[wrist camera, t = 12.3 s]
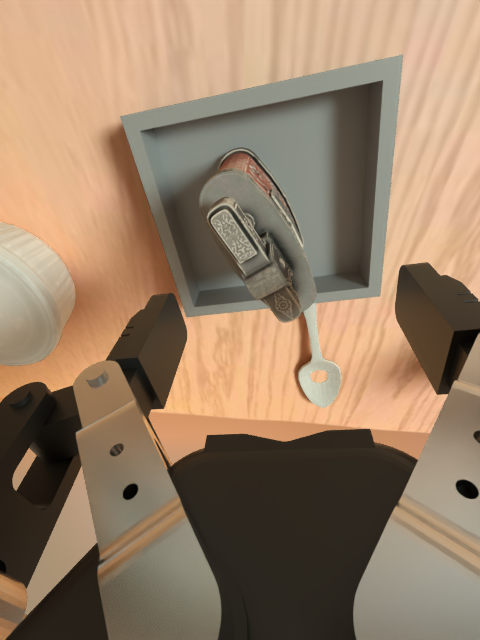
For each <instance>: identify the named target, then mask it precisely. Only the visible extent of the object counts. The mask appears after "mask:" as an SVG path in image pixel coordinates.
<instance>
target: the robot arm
mask: <svg viewBox="0 0 480 640" xmlns="http://www.w3.org/2000/svg"><path fill="white" fill-rule="evenodd" d="M395 313H396V318H397V321H398V323H399V325H400V327H401V329H402V331H403V333H404V334H405V336H406V338H407V340H408V342H409V344H410V346H411V347H412V349H413V351H414V353H415V355H416V357H417V358H418V360H419V362H420V364H421V366H422V368H423V370H424V371H425V373H426V375H427V377H428V379H429V381H430V383H431V384H432V386H433V388H434V390H435V392H436V394H437V395H439V394H448V396H447V398H446V400H445V403H444V405H443V407H442V409H441V411H440V414H439V416H438V418H437V420H436V422H435V424H434V427H433V429H432V431H431V433H430V435H429V438H428V440H427V442H426V444H425V447H424V449H423V451H422V453H421V455H420V457H419V460H417V459H415V458H414V457H412V456H410V455H408V454H407V453H404V452H403V451H400V450H398V449H395V448H393V447H390V446H387V445H384V444H380V443H375V442H374V441H373V437H372V435H371V431H370V429H356V430H329V431H324V432H320V433H317V434H313V435H310V436H306V437H302V438H299V439H295V440H292V441H287V442H282V441H276V440H272V439H267V438H262V437H257V436H252V435H248V434H227V435H207V438H206V443H205V448H203V449H200V450H198V451H195V452H193V453H191V454H189V455H187V456H185V457H183V458H182V459H180V460H179V461H177V462H176V463H174V464H173V465H172V463H171V461H170V459H169V457H168V456H167V453H166V451H165V449H164V447H163V445H162V443H161V441H160V439H159V437H158V435H157V433H156V431H155V429H154V427H153V425H152V422H151V421H150V419H149V417H148V416H149V413H150V411H151V409H164V407H165V404H166V401H167V398H168V395H169V392H170V389H171V386H172V383H173V380H174V377H175V374H176V371H177V368H178V365H179V362H180V359H181V356H182V353H183V350H184V347H185V344H186V341H187V329H186V325H185V322H184V319H183V317H182V314H181V311H180V308H179V306H178V303H177V300H176V297H175V296H174V294H172V293H169V294H161V295H153V296H152V297H151V298H150V300H149V302H148V303H147V305H146V307H145V309H143V310H140V311H139V312H138V313H137V314H136V315H134V316H133V317H132V318H131V319H130V321H129V323H128V324H127V326H126V329H124V331H123V333H122V334H121V337H119V339H118V341H117V342H116V344H115V346H114V347H113V349H112V351H111V352H110V354H109V356H108V357H107V359H106V360H105V361H102V362H98V363H96V364H93V365H92V366H90V367H88V368H87V369H85V370H84V371H83V372H82V373H80V374H79V376H78V377H77V378H76V380H75V382H74V385H73V386H70V387H67V388H63V389H60V390H57V391H54V392H51V391H50V390H49V389H48V387H47V386H46V385H45V384H44V383H42V382H33V383H29V384H26V385H24V386H21V387H19V388H18V389H16V390H14V391H13V392H11V393H10V394H9V395H7V396H6V397H5V398H4V399H3V400H2V401H1V403H0V640H480V302H478V299H477V298H476V297H475V296H474V295H473V294H471V293H470V291H469V290H468V289H467V288H466V287H465V286H464V285H463V283H462V282H460V281H458V280H455V279H453V278H451V277H449V276H447V275H443V276H440V275H439V274H438V273H437V272H436V271H435V270H434V268H433V267H432V266H431V265H430V264H429V263H427V262H426V263H418V264H409V265H402V266H401V268H400V271H399V277H398V285H397V294H396V302H395ZM28 448H30V449H31V450H32V451H33V452H34V453H35V454H36V455H37V457H36V458H35V460H34V462H33V463H32V465H31V467H30V469H29V470H28V472H27V474H26V475H25V477H24V479H23V481H22V482H21V484H20V486H19V487H18V489H17V491H15V490H14V488H13V485H12V478H13V474H14V472H15V470H16V468H17V466H18V465H19V463H20V461H21V460H22V458H23V457H24V455H25V453H26V452H27V450H28ZM81 466H82V469H83V474H84V479H85V484H86V489H87V494H88V499H89V503H90V508H91V513H92V518H93V523H94V528H95V533H96V538H97V543H96V544H95V545H94V546H93V547H92V549H91V550H90V551H89V552H88V553H87V554H86V555H85V556H84V557H83V558H82V559H81V560H80V561H79V562H78V563H77V564H76V565H75V566H74V567H73V568H72V569H71V570H70V572H69V573H68V574H67V575H66V576H65V577H64V578H63V579H62V580H61V581H60V582H59V583H58V584H57V585H56V586H55V587H54V588H53V589H52V590H51V591H50V592H49V594H47V596H46V597H45V598H44V599H43V600H42V601H41V602H40V603H39V604H38V605H37V606H36V607H35V608H34V609H33V610H32V611H31V612H30V613H29V614H28V615H27V614H25V611H26V606H27V598H28V597H27V591H26V588H27V586H28V584H29V582H30V580H31V578H32V575H33V573H34V571H35V569H36V566H37V564H38V562H39V560H40V557H41V555H42V553H43V551H44V549H45V546H46V544H47V542H48V540H49V537H50V535H51V533H52V531H53V528H54V526H55V524H56V522H57V519H58V517H59V515H60V513H61V510H62V508H63V506H64V504H65V502H66V499H67V497H68V495H69V492H70V490H71V488H72V486H73V483H74V481H75V479H76V477H77V475H78V472H79V470H80V468H81Z"/></svg>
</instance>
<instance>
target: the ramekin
mask: <svg viewBox="0 0 480 640" xmlns="http://www.w3.org/2000/svg"><path fill="white" fill-rule="evenodd" d="M75 295H76V291H75V285H74V283H73V279H72V277H71V275H70V272H69V270H68V268H67V267H66V265H65V263H64V262H63V260H62V259H61V258H60V257H59V255H58V254H57V253H56V252H55V251H54V250H53V249H52V248H51V247H50V246H49V245H48V244H46V243H45V242H44V241H43V240H41V239H40V238H38V237H37V236H35V235H33V234H32V233H30V232H28V231H26V230H24V229H22V228H19V227H17V226H14V225H11V224H7V223H4V222H0V365H7V366H21V365H28V364H33V363H36V362H39V361H41V360H43V359H44V358H45V357H47V356H48V355H49V354H50V353H51V352H52V351H53V350H54V349H55V347H56V346H57V344H58V343H59V341H60V338H61V335H62V330H63V328H64V326H65V325H66V323H67V321H68V319H69V317H70V315H71V313H72V311H73V308H74V306H75V300H76V296H75Z"/></svg>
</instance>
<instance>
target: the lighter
mask: <svg viewBox="0 0 480 640" xmlns="http://www.w3.org/2000/svg"><path fill="white" fill-rule="evenodd" d="M199 207H200V210H201V214H202V216H203V218H204V220H205V222H206V224H207V226H208V228H209V230H210V232H211V234H212V236H213V238H214V240H215V242H216V244H217V246H218V247H219V249H220V250H221V252H222V253H223V255H224V256H225V258H226V260H227V261H228V263H229V264H230V266H231V267H232V269H233V270H234V272H235V273H236V274H237V275H238V276H239V277H240V279H241V280H242V281H243V282H244V284H245V286H246V288H247V290H248V291H249V293H250V294H251V295H252V297H253V298H254V299H255V300H257V301H258V300H260V301H262V302H263V303H265V304H266V305H267V306H268V307H269V308H270V309H271V311H272V312H273V313H274V315H275V316H276V318H277V319H278V320H279V321H281V322H283V323H287V322H290V321H293V320H295V319H297V318H298V317H299V316H300V315H301V313H302V312H303V311H305V310H307V309H308V308H309V307H310V306H311V305H312V304H313V303H314V301H315V298H316V296H317V291H316V286H315V282H314V279H313V276H312V273H311V270H310V267H309V264H308V261H307V258H306V255H305V253H304V251H303V247H304V240H303V236H302V233H301V230H300V227H299V223H298V220H297V217H296V214H295V212H294V210H293V208H292V206H291V204H290V202H289V200H288V198H287V195H286V193H285V192H284V190H283V189H282V187H281V186H280V184H279V183H278V181H277V180H276V178H275V177H274V175H273V174H272V172H271V171H270V170H269V169H268V168H267V167H266V165H265V164H264V163H263V162H262V161H261V160H260V158H259V157H258V156H257V155H256V154H255V153H254V152H253V151H252V150H250V149H249V148H245V147H239V148H234V149H232V150H231V151H229V152H228V153H227V154H226V155H225V156H224V157H223V158H222V160H221V162H220V164H219V166H218V172H217V173H215V174H214V175H213V176H212V177H211V178H210V179H209V180H208V181H207V182H206V184H205V185H204V187H203V189H202V191H201V193H200V199H199Z"/></svg>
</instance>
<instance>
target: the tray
mask: <svg viewBox="0 0 480 640" xmlns="http://www.w3.org/2000/svg"><path fill="white" fill-rule="evenodd" d="M402 62H403V55H399V56H395V57H390V58H385V59H381V60H376V61H372V62H367V63H363V64H358V65H353V66H349V67H344V68H340V69H335V70H330V71H326V72H321V73H317V74H312V75H308V76H303V77H298V78H294V79H289V80H285V81H280V82H276V83H271V84H266V85H262V86H257V87H253V88H248V89H244V90H239V91H234V92H230V93H225V94H221V95H216V96H212V97H207V98H202V99H198V100H193V101H189V102H184V103H180V104H175V105H170V106H166V107H161V108H157V109H152V110H147V111H143V112H138V113H134V114H129V115H125V116H120V118H121V121H122V124H123V127H124V130H125V133H126V136H127V139H128V142H129V145H130V148H131V151H132V154H133V157H134V160H135V163H136V166H137V169H138V172H139V175H140V178H141V181H142V184H143V187H144V190H145V193H146V196H147V199H148V202H149V205H150V208H151V211H152V214H153V217H154V220H155V223H156V226H157V229H158V232H159V235H160V239H161V242H162V245H163V248H164V251H165V254H166V257H167V260H168V263H169V266H170V269H171V272H172V275H173V278H174V281H175V284H176V287H177V290H178V293H179V296H180V299H181V302H182V305H183V308H184V311H185V314H186V317H193V316H202V315H211V314H221V313H230V312H239V311H248V310H258V309H267V308H269V307H268V306H267V305H266V304H265V303H263V302H262V301H260V300H258V301H257V300H255V299H254V298H253V297H252V295H251V294H250V293H249V291H248V290H247V288H246V286H245V284H244V282H243V281H242V280H241V279H240V277H239V276H238V275H237V274H236V273H235V272H234V270H233V269H232V267H231V266H230V264H229V263H228V261H227V260H226V258H225V256H224V255H223V253H222V252H221V250H220V249H219V247H218V246H217V244H216V242H215V240H214V238H213V236H212V234H211V232H210V230H209V228H208V226H207V224H206V222H205V220H204V218H203V216H202V214H201V210H200V207H199V199H200V193H201V191H202V189H203V187H204V185H205V184H206V182H207V181H208V180H209V179H210V178H211V177H212V176H213V175H214V174H215V173H217V172H218V166H219V164H220V162H221V160H222V158H223V157H224V156H225V155H226V154H227V153H228V152H229V151H231V150H232V149H234V148H239V147H245V148H249V149H250V150H252V151H253V152H254V153H255V154H256V155H257V156H258V157H259V158H260V160H261V161H262V162H263V163H264V164H265V165H266V167H267V168H268V169H269V170H270V171H271V172H272V174H273V175H274V177H275V178H276V180H277V181H278V183H279V184H280V186H281V187H282V189H283V190H284V192H285V193H286V195H287V198H288V200H289V202H290V204H291V206H292V208H293V210H294V212H295V214H296V217H297V220H298V223H299V227H300V230H301V233H302V236H303V240H304V247H303V251H304V253H305V255H306V258H307V261H308V264H309V267H310V270H311V273H312V276H313V279H314V282H315V286H316V291H317V296H316V298H315V301H314V303H322V302H331V301H341V300H350V299H359V298H368V297H378V296H380V293H381V282H382V272H383V261H384V251H385V240H386V230H387V219H388V209H389V198H390V188H391V177H392V167H393V156H394V146H395V135H396V125H397V114H398V104H399V93H400V83H401V72H402Z"/></svg>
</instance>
